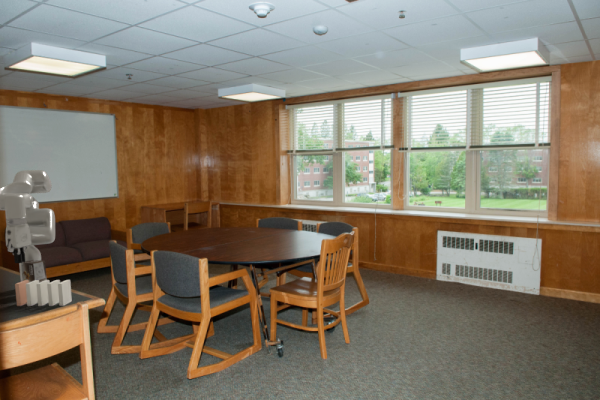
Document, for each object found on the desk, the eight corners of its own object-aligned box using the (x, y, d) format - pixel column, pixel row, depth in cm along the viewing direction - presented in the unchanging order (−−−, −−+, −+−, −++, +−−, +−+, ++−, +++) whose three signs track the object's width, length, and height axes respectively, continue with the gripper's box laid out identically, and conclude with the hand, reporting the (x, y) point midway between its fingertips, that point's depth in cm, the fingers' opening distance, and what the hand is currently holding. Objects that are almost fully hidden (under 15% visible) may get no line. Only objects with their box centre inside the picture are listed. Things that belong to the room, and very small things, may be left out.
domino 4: (48, 305, 183) (47, 283, 182) (57, 301, 189) (55, 280, 188) (52, 305, 183) (50, 283, 182) (61, 301, 189) (59, 280, 188)
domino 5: (59, 305, 183) (57, 283, 182) (68, 301, 189) (66, 279, 188) (63, 305, 183) (61, 283, 182) (71, 301, 189) (70, 279, 188)
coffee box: (48, 292, 203) (46, 260, 202) (36, 296, 197) (33, 263, 196) (35, 290, 206) (33, 259, 205) (23, 294, 201) (20, 262, 199)
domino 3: (38, 305, 183) (36, 283, 183) (47, 301, 189) (45, 280, 189) (42, 305, 183) (40, 283, 182) (51, 301, 189) (49, 280, 188)
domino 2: (27, 305, 184) (25, 283, 183) (36, 301, 190) (35, 280, 189) (31, 305, 184) (29, 283, 183) (40, 301, 190) (38, 280, 189)
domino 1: (16, 305, 184) (15, 284, 183) (26, 301, 190) (24, 280, 189) (20, 305, 184) (18, 283, 183) (30, 301, 190) (28, 280, 189)
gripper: (11, 224, 176) (15, 266, 177) (36, 219, 191) (40, 258, 193) (-6, 224, 176) (-2, 266, 178) (21, 219, 192) (24, 258, 193)
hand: (20, 262), depth 185 cm, fingers closed
